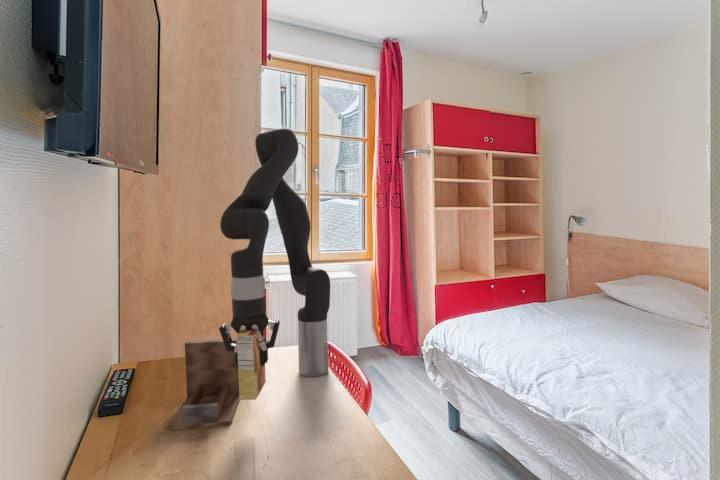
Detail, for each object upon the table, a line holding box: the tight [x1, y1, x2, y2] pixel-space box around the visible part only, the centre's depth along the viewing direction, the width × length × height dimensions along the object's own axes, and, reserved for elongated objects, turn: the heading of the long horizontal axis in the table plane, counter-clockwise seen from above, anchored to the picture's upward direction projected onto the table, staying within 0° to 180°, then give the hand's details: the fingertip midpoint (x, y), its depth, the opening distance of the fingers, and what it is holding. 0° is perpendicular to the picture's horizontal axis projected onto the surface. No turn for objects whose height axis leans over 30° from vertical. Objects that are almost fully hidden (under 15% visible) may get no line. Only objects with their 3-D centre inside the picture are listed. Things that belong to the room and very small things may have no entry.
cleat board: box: [168, 338, 241, 431], centre depth 96 cm, size 14×15×16 cm
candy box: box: [236, 330, 267, 401], centre depth 89 cm, size 9×4×15 cm, turn 0°
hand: (252, 365), depth 89 cm, fingers closed on candy box, 4 cm apart
